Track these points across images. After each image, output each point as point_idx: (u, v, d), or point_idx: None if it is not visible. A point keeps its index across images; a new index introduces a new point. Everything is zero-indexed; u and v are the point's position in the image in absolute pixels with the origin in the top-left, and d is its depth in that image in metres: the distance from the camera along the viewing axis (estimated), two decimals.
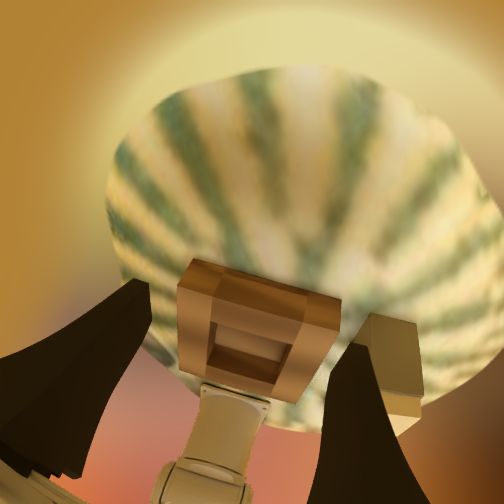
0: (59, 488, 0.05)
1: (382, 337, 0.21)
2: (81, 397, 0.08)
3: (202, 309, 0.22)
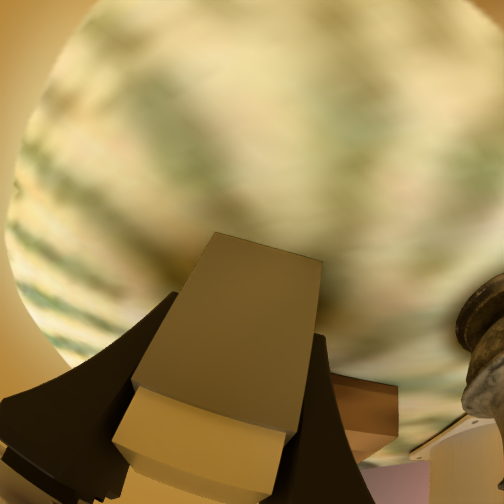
0: None
1: None
2: None
3: None
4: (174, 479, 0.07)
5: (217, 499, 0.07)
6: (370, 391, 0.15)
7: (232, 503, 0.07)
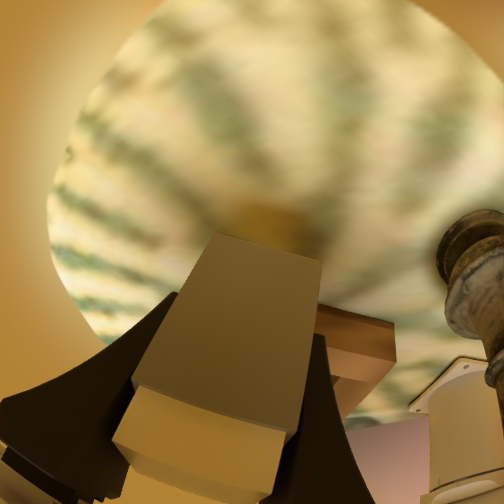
0: None
1: None
2: None
3: None
4: (174, 478, 0.07)
5: (217, 499, 0.07)
6: (370, 324, 0.18)
7: (232, 503, 0.07)
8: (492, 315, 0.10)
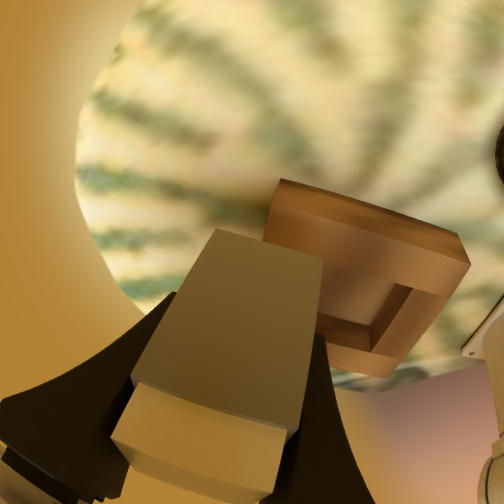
0: None
1: None
2: None
3: None
4: (174, 477, 0.07)
5: (217, 497, 0.07)
6: (437, 231, 0.16)
7: (232, 502, 0.07)
8: None
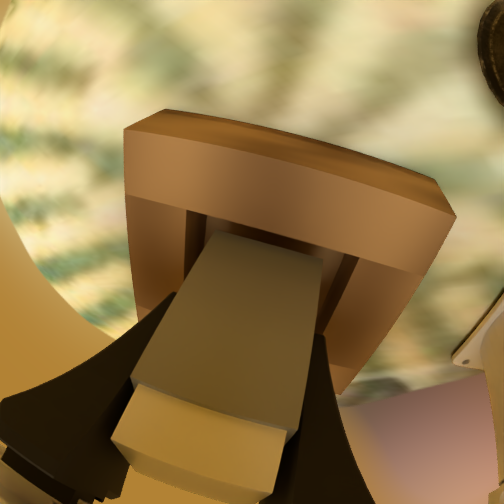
0: None
1: None
2: None
3: None
4: (174, 478, 0.07)
5: (217, 498, 0.07)
6: (399, 170, 0.11)
7: (232, 502, 0.07)
8: None
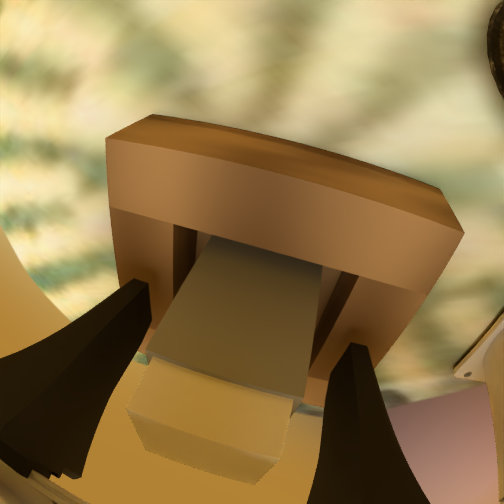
0: (59, 488, 0.05)
1: None
2: (81, 397, 0.08)
3: None
4: (184, 451, 0.07)
5: (225, 474, 0.08)
6: (402, 180, 0.10)
7: (240, 478, 0.08)
8: None
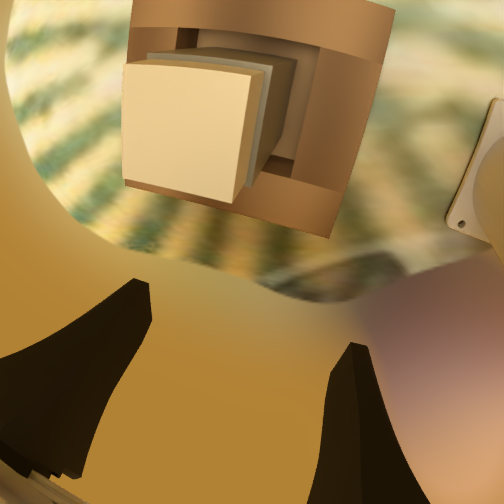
0: (59, 488, 0.05)
1: None
2: (81, 397, 0.08)
3: None
4: (162, 131, 0.08)
5: (201, 182, 0.09)
6: None
7: (216, 183, 0.09)
8: None
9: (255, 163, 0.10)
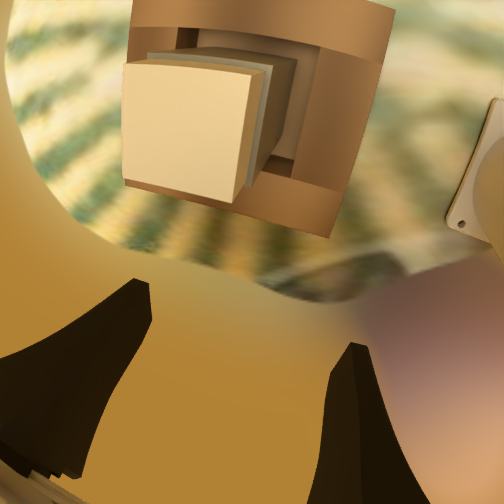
0: (59, 488, 0.05)
1: None
2: (81, 397, 0.08)
3: None
4: (162, 130, 0.08)
5: (201, 182, 0.09)
6: None
7: (216, 183, 0.09)
8: None
9: (255, 163, 0.10)
